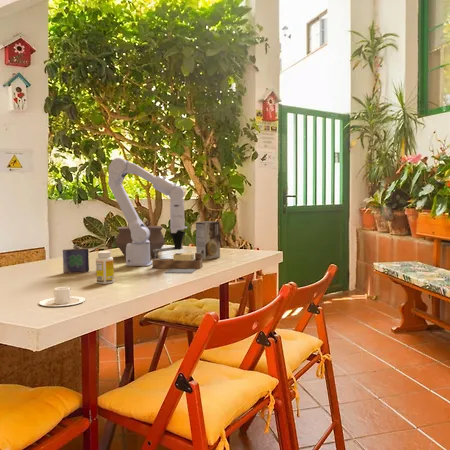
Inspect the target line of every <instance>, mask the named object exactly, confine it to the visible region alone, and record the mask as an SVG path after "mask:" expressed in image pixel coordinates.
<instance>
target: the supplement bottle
mask: <svg viewBox="0 0 450 450" xmlns="http://www.w3.org/2000/svg"><path fill="white" fill-rule="evenodd" d="M111 253H112V252H111V251H104V250H102V251H99V252H97V256H98V257H97V258H96V259H95V271H96V275H95V276H96V283H97V284H99V285H107V284H112V283H114V282H115V274H114V273H115V268H114V267H115V266H114V258H113V257H112V254H111Z"/></svg>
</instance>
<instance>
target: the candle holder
mask: <svg viewBox="0 0 450 450" xmlns="http://www.w3.org/2000/svg"><path fill="white" fill-rule="evenodd" d="M53 295H54V297H51V298H46V299H41V301H39V302H38V305H41V306H44V307H52V308H53V307H67V306H74V305H78V304H81V303H84V302H85V301H86V298H85V297H82V296H71V287H69V286H61V287H60V286H58V287H55V288H54V289H53ZM52 300H53V301H54V304H47V303H48V301H49V302H52ZM71 300H77V301H76V302H74V303H73V302H72V301H71ZM71 302H72V303H71Z"/></svg>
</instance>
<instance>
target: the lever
mask: <svg viewBox="0 0 450 450" xmlns="http://www.w3.org/2000/svg"><path fill="white" fill-rule="evenodd" d="M183 248H184V247H183V245H182V246H181V249H180V250H182V249H183ZM167 251H175V246H171V247H162V248H161V249H153V252H154V253H155V257H154V259H159V253H161V252H167ZM158 252H159V253H158Z"/></svg>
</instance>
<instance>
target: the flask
mask: <svg viewBox="0 0 450 450" xmlns="http://www.w3.org/2000/svg"><path fill="white" fill-rule="evenodd" d="M77 245H78V244H77V243H75V244H73V247H72V248H64V249H62V267H63V268H62V269H63V271H62V272H63V274H78V273H79V274H80V273H89V272H90V264H89V263H90V260H89V258H90V257H89V248H87V247H84V246H77Z"/></svg>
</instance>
